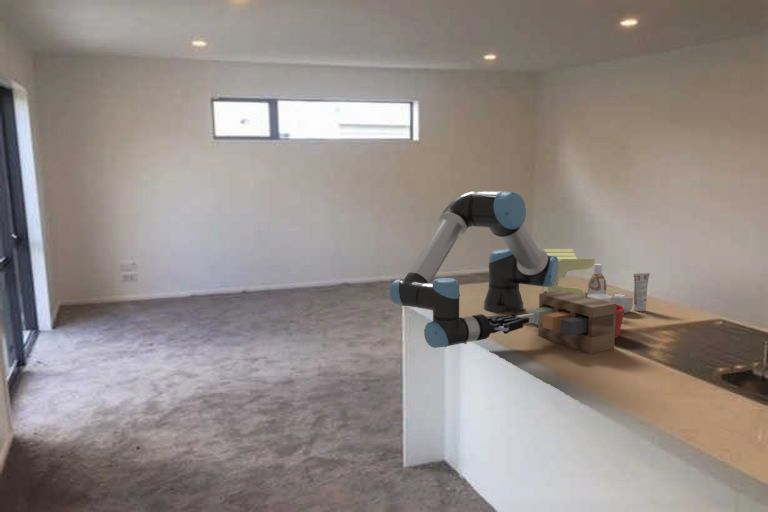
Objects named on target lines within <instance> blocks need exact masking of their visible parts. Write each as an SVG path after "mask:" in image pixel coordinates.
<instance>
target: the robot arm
mask: <svg viewBox="0 0 768 512" xmlns="http://www.w3.org/2000/svg"><path fill="white" fill-rule="evenodd" d="M526 215H527V208H526V203H525V201H524V198H523V196H521V195H520V194H519V193H518V192H516V191H515V192H514V191H510V190H509V191H508V190H500V191H498V190H494V191H492V190H491V191H490V190H487V191H486V190H485V191H483V190H481V191H480V190H471V191H468V192H465V193H462V195H461V194H460V196H458V197H457V198H455V199H454V200H452V201H451V202H450V203H449V204H448V205H447V206H446V208H445V209H444V210H443V212H442V213H441V214H440V216H439V220H438V221H439V223H438V225H437V226H436V228H435V229H434V231H433V233H432V234H431V236H430V238H429V240H428V241H427V242H426V244H425V246H424V248H422V250H421V252H420V253H419V254H418V257H417V258H416V260H415V261H414V263H413V265H412V267H411V268H410V270H409V271H408V272H407V274H406V275H405V277H404V279H395V280H394V281H393V282H392V283H391V284H390V287H389V293H388V295H389V298H390V301H391V302H392V303H393V304H395V305H400V306H403V307H412V308H418V309H422V310H423V309H424V310H428V311H429V310H430V311H432V321H430V322H427V324H426V325H425V327H424V330H423V332H424V333H423V335H424V339H425V341H426V343H427V345H428V346H429V347H431V348H433V349H435V348H436V349H437V348H446V347H450V346H456V345H460V344H464V345H467V344H468V343H470V342H475V341H476V342H477V341H482V340H487V339H488V338H489V337H490V335H491V334H497V333H498V332H502V333H503V334H504V335H506V334H509V333H510V332H514V331H516V330H517V331H518V330H519V329H522V328H523V327H524V325H528V324H529V325H530V324H535V314H533V313H530V314H529V313H525V314H520V315H516V312H521V311H522V310H524V302H523V297H522V293H521V292H520V285H526V286H527V285H528V286H535V287H537V286H538V287H542V286H543V287H551V286H553V285H554V283H555V281H556V278H557V275H558V268H559V262H558V258H557V257H556V256H553V255H552V256H548V255H547V253H546V252H545V251H544V250H543V248H542V247H539V246H538V245H537V243H536V242H535V240H534V239H533V238H532V235H531V234H530V232H529V231H528V229H527V228H526V226H525V224H524V222H525V221H526V220H525V219H526ZM471 227H482V228H488V229H489V230H490V231H491V233H492V234H493V235H494V236H497V237H498V238H499V237H500V238H501V239H502V240H503V242H504V243H505V245H506V247H507V248H505V249H503V248H502V249H497V250H494V251H492V252H490V253H489V259H488V290H487V293H486V295H485V299H484V301H483V308H484V309H485V310H487V311H491V312H496V313H511V315H510V314H501V315H500V314H499V315H489V316H486V315H484V314H481V313H479V314H475V315H467V316H460V297H461V294H460V282H459V281H458V280H457V279H455V278H452V277H447V278H446V277H438V278H435V277H436V275H437V274H438V271H439V270H440V268H441V267H442V266H443V263H444V262H445V260H446V258H447V257H448V256H449V253H450V252H451V250H452V249H453V247H454V245H455V244H456V242H457V240H458V239H459V237H460V235H463V234H464V233H465V232H466V231H467V229H469V228H471ZM434 278H435V279H434Z"/></svg>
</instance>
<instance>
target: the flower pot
mask: <svg viewBox="0 0 768 512" xmlns="http://www.w3.org/2000/svg"><path fill="white" fill-rule="evenodd" d="M624 310H625V308H624V307H623V306H621V305H616V324H615V339H616V338H619V335H620V332H621V328H622V324H623V318H624V314H625V313H624Z"/></svg>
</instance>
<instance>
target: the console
mask: <svg viewBox="0 0 768 512" xmlns="http://www.w3.org/2000/svg"><path fill="white" fill-rule="evenodd" d="M538 297H539V298H538V308H541V307H547V306H552V307H554V313H555V312H560V311H566V310H567V311H570V312H571V314H570V318H571V317H577V316H582V315H585V316H589V318H588V332H587V333H582V334H577V335H572V336H570V335H567V334H564V333H561V332H560V329H556V330H550V329H547V328H544V327H543V324H537V325H538V332H537V333H538V334H537V336H539V337H542V338H545V339H547V340H550V341H553V342H556V343H558V344H561V345H565V346H567V347H570V348H573V349H576V350H580V351H582V352H584V353H587V354H590V355H591V354H592V355H593V354H596V353H601V352H605V351H609V350H613V349H615V343H616V342H615V341H616V340H615V339H616V338H615V324H616V303H612V302H608V301H604V300H600V299H595V298H591V297H587V295H586V296H583V295H579V294H575V293H570V292H566V291H555V292H548V293H547V292H542V293H539V294H538Z"/></svg>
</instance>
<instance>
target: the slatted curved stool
mask: <svg viewBox="0 0 768 512" xmlns="http://www.w3.org/2000/svg"><path fill="white" fill-rule="evenodd" d="M542 249H543V248H542ZM543 250H544V251H545V252H546V253H547V255H548V256H552V255H553V256H556V257H557V258H558V262H559V268H558V275H557V278H556V281H555V283H554V285H553V286H551V287H543V286H541V288H542V290H544V292H545V293H548V292H555V291H566V292H570V293H575V294H579V295H583V296H587V294H586V292H585V291H583V290H582V289H580V288H579V287H569V286H566V287H565V286H559V285H558V284H559V281H560V279H562V278H566V275H567V273H568V272H570V271H579V270H588V269H591V268H593V267H594V264H595V262H596V261H595V258H583V259H581V258H578V257H577V256H576V253H575V251H574V249H573V248H544V249H543Z"/></svg>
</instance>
